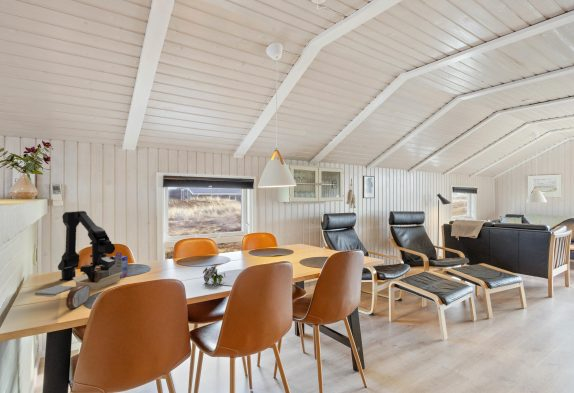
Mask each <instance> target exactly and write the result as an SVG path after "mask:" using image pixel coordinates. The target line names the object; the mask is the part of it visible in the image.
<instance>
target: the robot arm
mask: <svg viewBox="0 0 574 393" xmlns="http://www.w3.org/2000/svg"><path fill="white" fill-rule="evenodd" d="M61 217H62V223H63V224H64V226H65V228H66V230H65V248H64V249H65V251H64V252H63V254H62V256H61V260H60V261H59V263H58V265H57V269H58V271H61V278H59V279H58V280H59V281H72V280H73V278H74V277H77V276H76V269H77V268H79V266H80V265H79V263H80V254H78V253H77V251H76V250H77V248H76V247H77V228H78V226H79V224H81V225H82V226H83V227H84V228H85V229H86V231H87V237H88V238H89V239H90V242H89V245H91V254H90V255H89V257H90V258H91V260H92V261H91V262H90V263H89V264H86V265H82V266H80V269H79V270H80V271H79V272H80V273H83V274H86V275H87V276H88V278H89V279H90V281H91V283H94V277H95V272H96V271H95V270H96V269H97V268H100V270H109V268H111V267H112V266H113V265H115V262H116V261H115V260H116V259H115V257H114V256H115V255H112V254H113V253H114V252H115V250H116V246H115V244H113V243H112V241H111V240H110V237H109V236H108V233H107V232H106V230H105V229H104V228H103V227H101V226H99V225H96V223H95V222H94V220H92V218H90V216H89V215H88V213H87V212H86V211H85V210H78V211H65V212H64V213H63V214H62V216H61ZM108 255H112V256H108Z"/></svg>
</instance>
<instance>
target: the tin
mask: <svg viewBox="0 0 574 393" xmlns="http://www.w3.org/2000/svg"><path fill="white" fill-rule="evenodd" d="M74 287H75V288H73V289H70V290H69V292H68V293H67V295H66V300H65V306H66V308H67V309H77V308H79V307H80V306H82V305H83V304H86V303H87V302H88V300H89V298H90V294H91V289H90V287H89V285H83V284H82V285H79V286H77V287H76V286H74Z"/></svg>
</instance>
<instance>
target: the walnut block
mask: <svg viewBox="0 0 574 393" xmlns="http://www.w3.org/2000/svg"><path fill="white" fill-rule="evenodd" d="M95 271H96V272H95V277H94V283H98V282H99V281H100V279H103V278H106V277H109V270H101V269H95ZM88 282H91V281H90V279H89V278H88Z"/></svg>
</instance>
